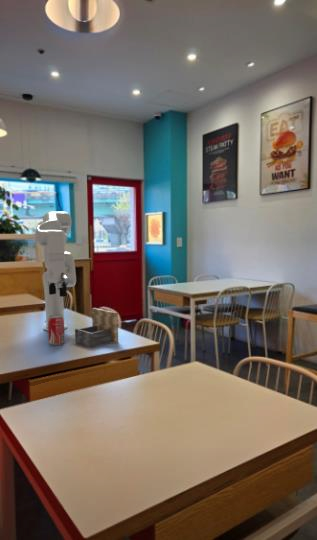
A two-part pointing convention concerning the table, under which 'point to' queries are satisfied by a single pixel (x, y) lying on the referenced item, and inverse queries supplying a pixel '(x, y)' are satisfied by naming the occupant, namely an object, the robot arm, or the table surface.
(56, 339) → the soda can
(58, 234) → the robot arm
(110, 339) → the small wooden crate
